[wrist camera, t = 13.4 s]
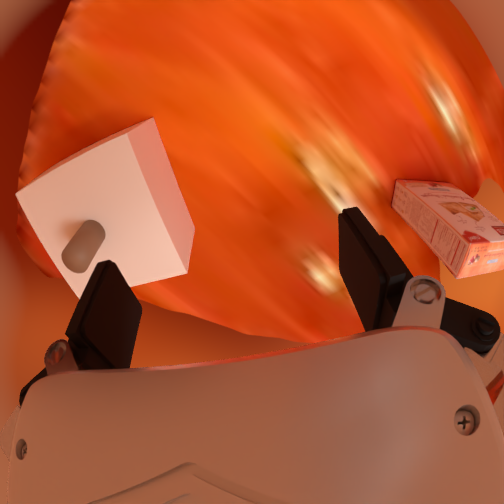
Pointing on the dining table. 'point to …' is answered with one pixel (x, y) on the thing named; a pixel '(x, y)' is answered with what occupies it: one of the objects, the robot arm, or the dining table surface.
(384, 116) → the dining table surface
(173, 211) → the cover
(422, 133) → the dining table surface
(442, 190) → the cracker box
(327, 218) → the dining table surface
